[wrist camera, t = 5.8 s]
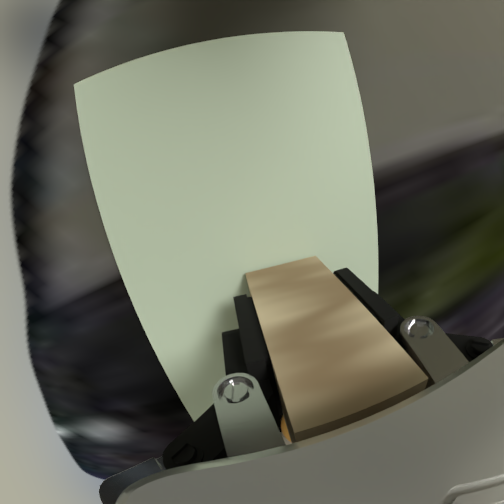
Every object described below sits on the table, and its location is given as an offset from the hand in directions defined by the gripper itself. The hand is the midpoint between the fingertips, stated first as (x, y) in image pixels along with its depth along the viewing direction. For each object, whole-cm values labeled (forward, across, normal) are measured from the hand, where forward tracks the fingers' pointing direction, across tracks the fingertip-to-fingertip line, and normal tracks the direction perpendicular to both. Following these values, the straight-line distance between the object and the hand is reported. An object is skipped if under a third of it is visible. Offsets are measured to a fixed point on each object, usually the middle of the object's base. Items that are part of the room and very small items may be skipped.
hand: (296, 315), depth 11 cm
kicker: (+2, 0, 0) cm, 2 cm away
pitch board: (+3, +1, -2) cm, 4 cm away
